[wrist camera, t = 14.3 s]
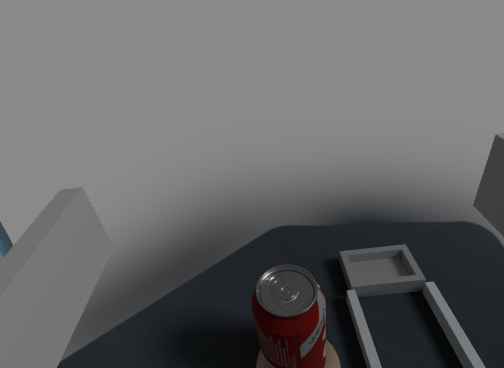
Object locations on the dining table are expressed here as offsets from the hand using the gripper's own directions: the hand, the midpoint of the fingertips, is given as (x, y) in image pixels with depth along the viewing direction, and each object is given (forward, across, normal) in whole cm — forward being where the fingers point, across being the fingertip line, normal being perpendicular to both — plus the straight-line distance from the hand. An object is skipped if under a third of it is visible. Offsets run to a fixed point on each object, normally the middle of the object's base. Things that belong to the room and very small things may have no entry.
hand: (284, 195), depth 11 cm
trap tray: (+20, +12, -30) cm, 38 cm away
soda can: (+10, 0, -30) cm, 31 cm away
